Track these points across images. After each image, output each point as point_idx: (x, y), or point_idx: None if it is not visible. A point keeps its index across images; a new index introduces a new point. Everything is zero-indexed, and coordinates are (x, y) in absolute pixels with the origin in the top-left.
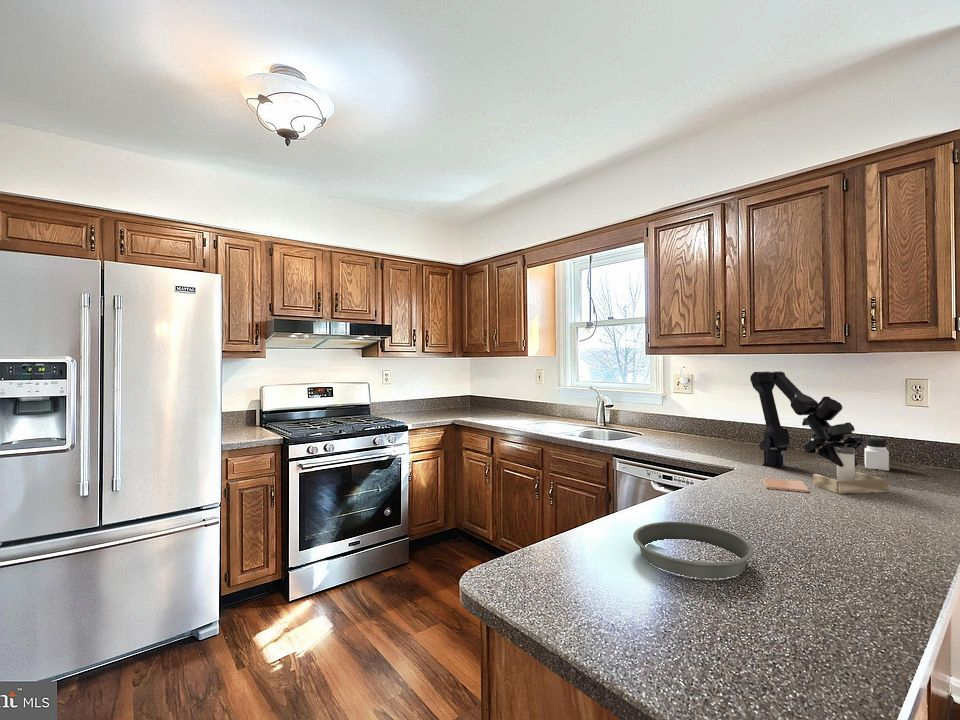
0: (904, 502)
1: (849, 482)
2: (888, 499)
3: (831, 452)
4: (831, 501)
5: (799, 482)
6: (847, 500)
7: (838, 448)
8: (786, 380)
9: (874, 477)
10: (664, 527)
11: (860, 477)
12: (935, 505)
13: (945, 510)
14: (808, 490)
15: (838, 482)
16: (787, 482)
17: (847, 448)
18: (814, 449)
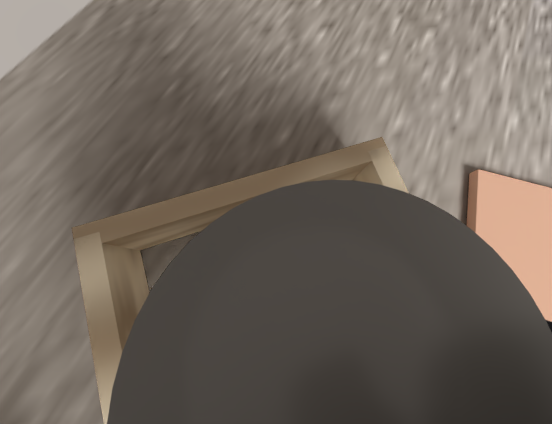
0: (167, 86)
1: (326, 156)
2: (201, 117)
3: (549, 322)
4: (421, 72)
5: None
6: (362, 89)
7: (530, 325)
8: None
9: (110, 285)
10: None
11: None
12: (78, 62)
13: (95, 14)
14: (478, 170)
15: (382, 147)
16: (546, 303)
17: (350, 268)
18: None
